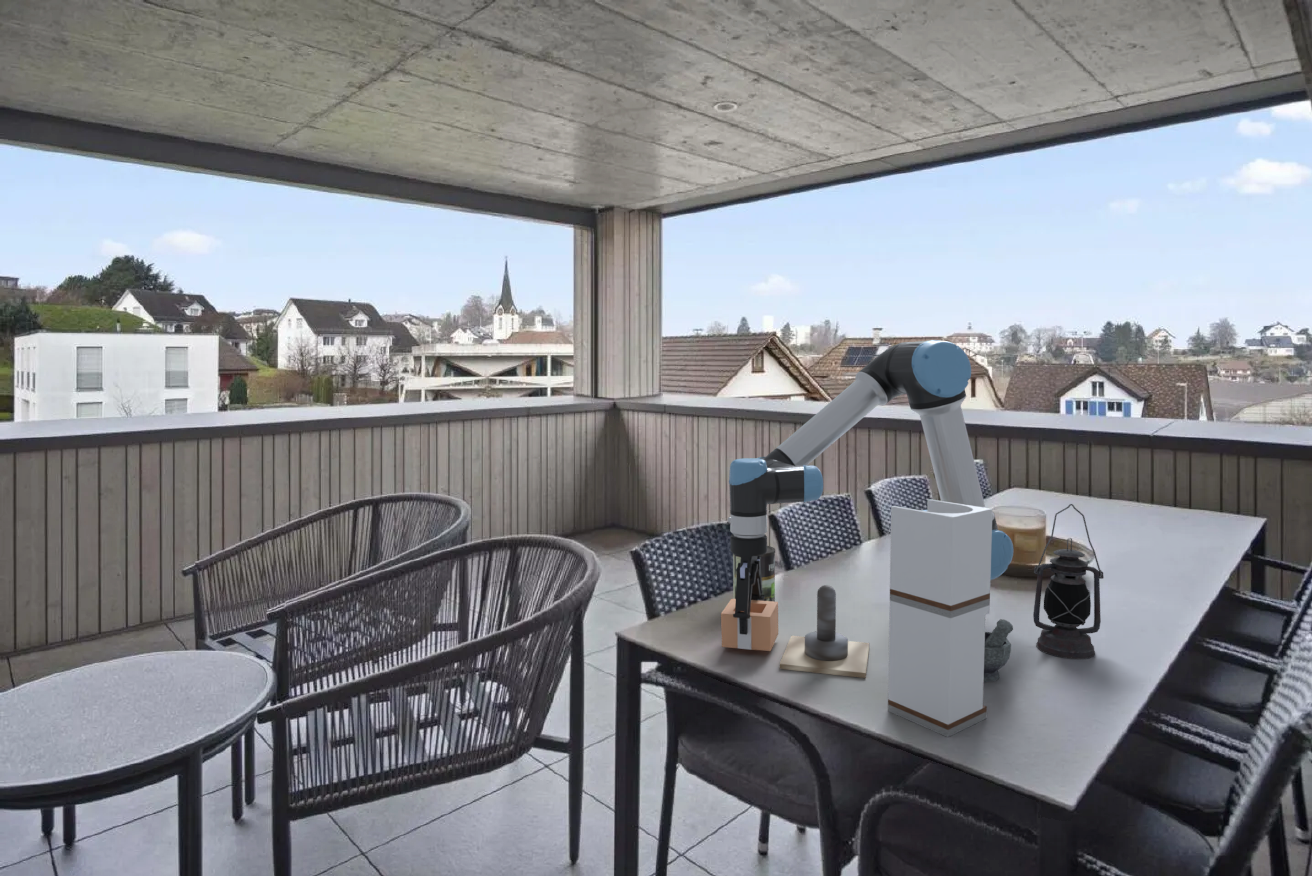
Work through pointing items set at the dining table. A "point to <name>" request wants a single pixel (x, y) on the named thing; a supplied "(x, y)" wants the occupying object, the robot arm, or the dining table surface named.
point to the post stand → (826, 645)
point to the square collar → (752, 625)
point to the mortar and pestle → (996, 650)
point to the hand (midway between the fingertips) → (749, 638)
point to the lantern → (1067, 603)
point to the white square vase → (939, 614)
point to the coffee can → (766, 574)
